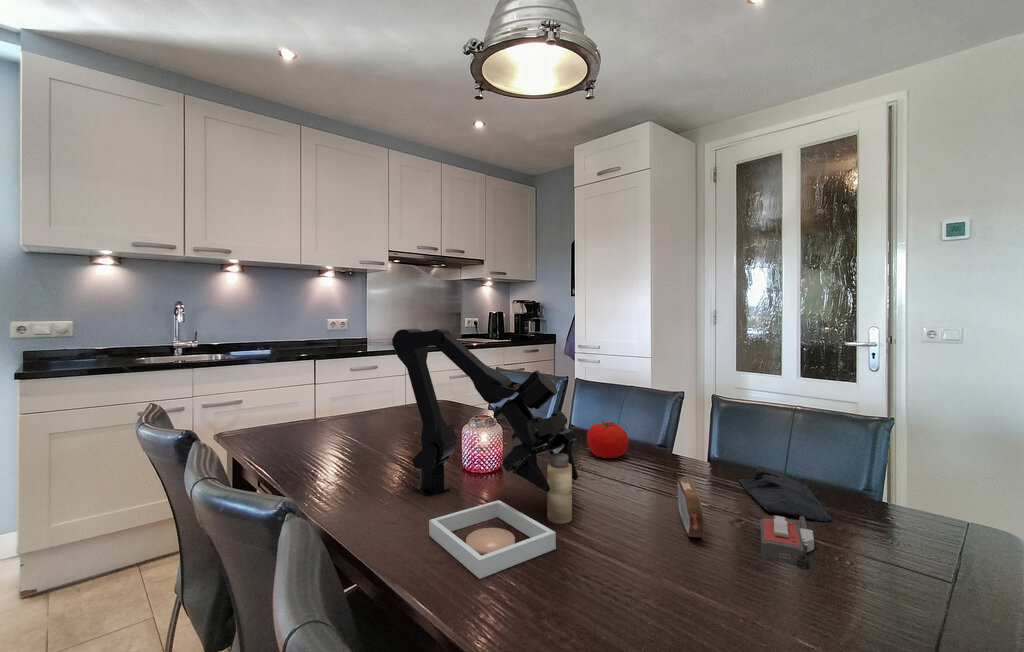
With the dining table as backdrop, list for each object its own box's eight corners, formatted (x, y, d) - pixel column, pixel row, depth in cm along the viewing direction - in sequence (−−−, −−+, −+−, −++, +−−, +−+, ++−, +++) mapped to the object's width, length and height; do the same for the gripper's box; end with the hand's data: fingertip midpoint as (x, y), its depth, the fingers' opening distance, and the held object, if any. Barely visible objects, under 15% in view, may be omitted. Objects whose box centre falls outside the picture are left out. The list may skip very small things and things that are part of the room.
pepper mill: (542, 517, 96) (542, 454, 96) (560, 511, 99) (560, 450, 99) (558, 526, 92) (558, 461, 92) (576, 519, 95) (576, 456, 95)
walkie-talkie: (821, 574, 75) (808, 525, 93) (821, 547, 75) (808, 503, 93) (759, 562, 79) (758, 516, 97) (759, 536, 79) (758, 495, 97)
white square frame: (429, 535, 88) (429, 520, 88) (498, 514, 98) (498, 500, 98) (479, 578, 74) (479, 560, 74) (555, 548, 83) (555, 532, 83)
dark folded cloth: (753, 517, 97) (753, 494, 97) (736, 481, 118) (737, 462, 118) (839, 527, 92) (839, 503, 92) (806, 487, 113) (806, 468, 113)
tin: (705, 546, 84) (705, 500, 84) (687, 544, 85) (687, 499, 84) (690, 511, 99) (690, 472, 99) (675, 510, 99) (675, 471, 99)
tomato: (594, 448, 145) (594, 415, 145) (634, 455, 138) (634, 421, 138) (578, 457, 136) (578, 422, 136) (619, 465, 129) (619, 428, 129)
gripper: (512, 406, 92) (556, 475, 84) (569, 394, 105) (611, 452, 98) (485, 439, 97) (524, 506, 90) (542, 423, 111) (581, 481, 103)
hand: (563, 484), depth 95 cm, fingers open, 9 cm apart
